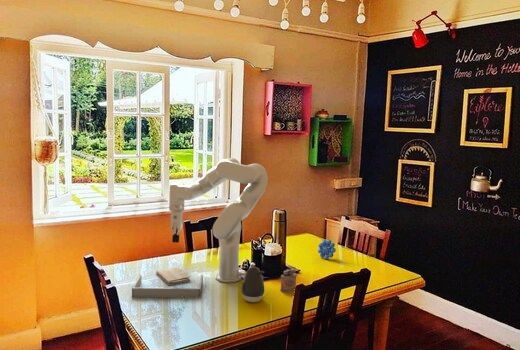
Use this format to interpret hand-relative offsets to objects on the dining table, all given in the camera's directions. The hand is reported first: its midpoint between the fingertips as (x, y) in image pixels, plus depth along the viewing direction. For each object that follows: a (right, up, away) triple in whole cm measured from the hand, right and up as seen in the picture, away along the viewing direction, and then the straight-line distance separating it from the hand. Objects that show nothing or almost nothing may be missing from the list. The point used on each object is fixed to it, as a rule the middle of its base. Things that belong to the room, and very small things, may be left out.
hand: (175, 242), depth 224 cm
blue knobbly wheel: (+82, -14, +26) cm, 87 cm away
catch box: (+2, -18, -24) cm, 30 cm away
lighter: (+56, -20, -20) cm, 63 cm away
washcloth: (+1, -17, -9) cm, 19 cm away
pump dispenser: (+40, -21, -32) cm, 55 cm away
